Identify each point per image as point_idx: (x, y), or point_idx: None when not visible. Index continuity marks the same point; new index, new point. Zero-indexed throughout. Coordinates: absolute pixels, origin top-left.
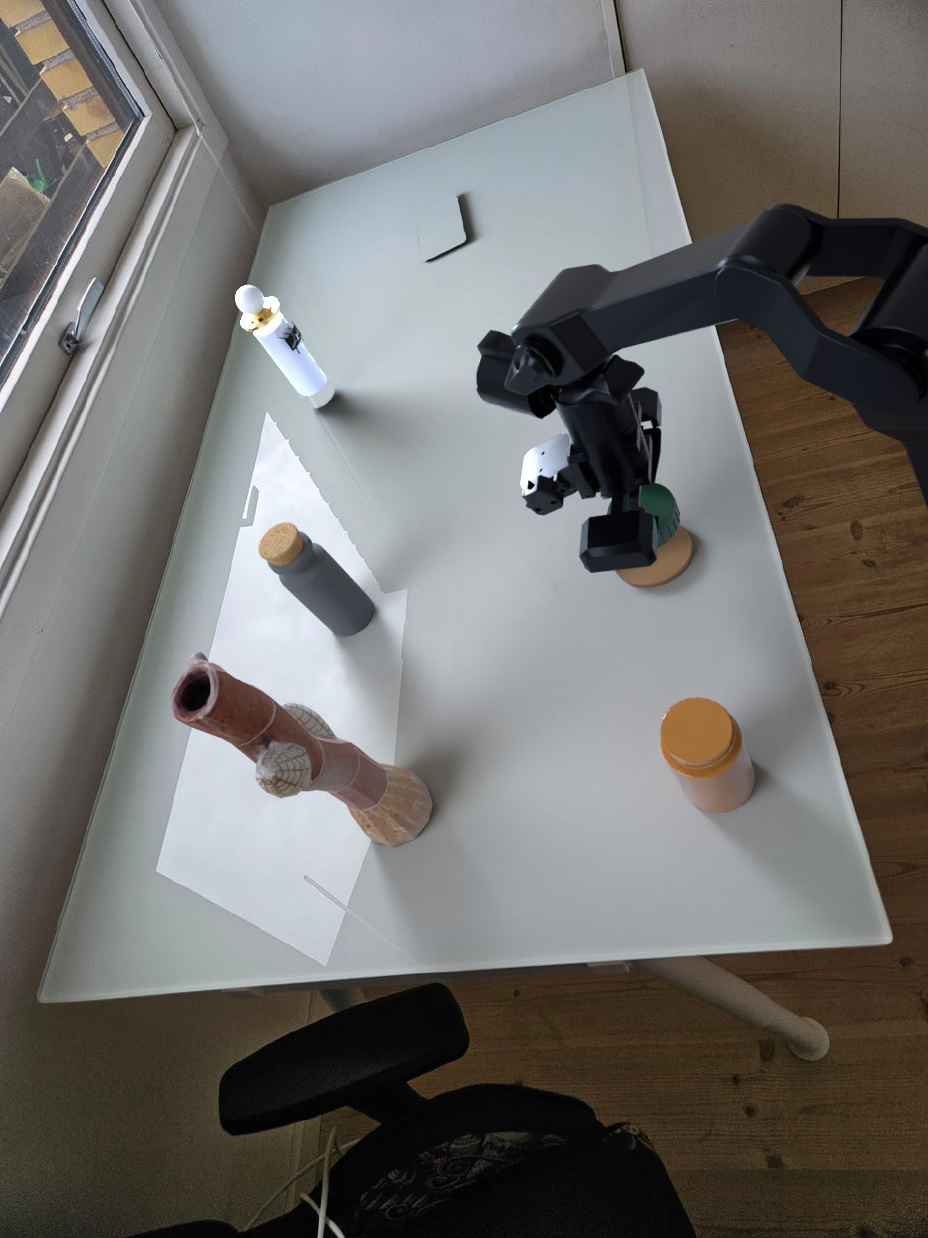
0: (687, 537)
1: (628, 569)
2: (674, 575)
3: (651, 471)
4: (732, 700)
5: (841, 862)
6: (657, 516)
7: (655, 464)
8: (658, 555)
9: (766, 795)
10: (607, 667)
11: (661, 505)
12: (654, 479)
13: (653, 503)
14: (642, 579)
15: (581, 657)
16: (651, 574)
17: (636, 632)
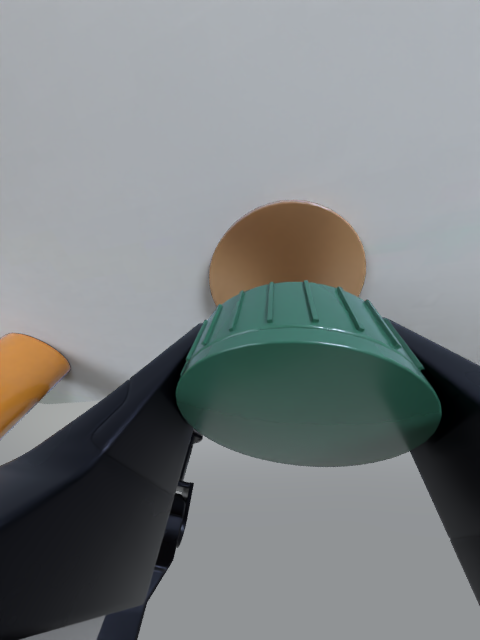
0: None
1: (239, 252)
2: None
3: (445, 507)
4: (107, 364)
5: (52, 399)
6: (140, 602)
7: (463, 557)
8: None
9: None
10: (53, 236)
11: (291, 452)
12: (412, 455)
13: (304, 445)
14: (218, 281)
15: (33, 173)
16: (229, 294)
17: (131, 275)
